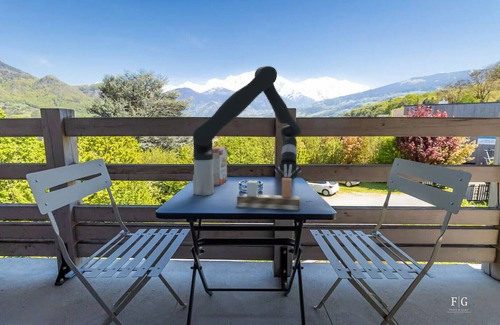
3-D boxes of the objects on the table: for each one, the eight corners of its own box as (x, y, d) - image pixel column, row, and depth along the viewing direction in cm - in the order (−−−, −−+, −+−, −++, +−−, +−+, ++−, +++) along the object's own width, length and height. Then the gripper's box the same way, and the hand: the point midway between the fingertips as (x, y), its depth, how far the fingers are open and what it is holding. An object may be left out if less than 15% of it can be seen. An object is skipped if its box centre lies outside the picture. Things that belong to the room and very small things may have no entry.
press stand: (236, 206, 115) (236, 197, 114) (244, 196, 129) (244, 188, 129) (299, 210, 110) (299, 200, 109) (300, 199, 124) (300, 191, 124)
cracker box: (220, 185, 152) (219, 148, 149) (210, 185, 153) (209, 148, 150) (227, 180, 165) (227, 146, 162) (218, 180, 167) (217, 146, 164)
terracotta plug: (281, 197, 121) (281, 179, 120) (282, 194, 125) (282, 177, 124) (290, 197, 120) (291, 180, 119) (291, 195, 124) (291, 178, 123)
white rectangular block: (247, 200, 116) (246, 182, 115) (249, 198, 120) (248, 180, 119) (256, 201, 115) (256, 182, 114) (257, 198, 119) (257, 180, 118)
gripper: (275, 150, 133) (271, 180, 123) (302, 151, 131) (301, 181, 121) (276, 160, 139) (273, 189, 129) (302, 160, 137) (301, 190, 127)
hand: (286, 185), depth 125 cm, fingers closed
